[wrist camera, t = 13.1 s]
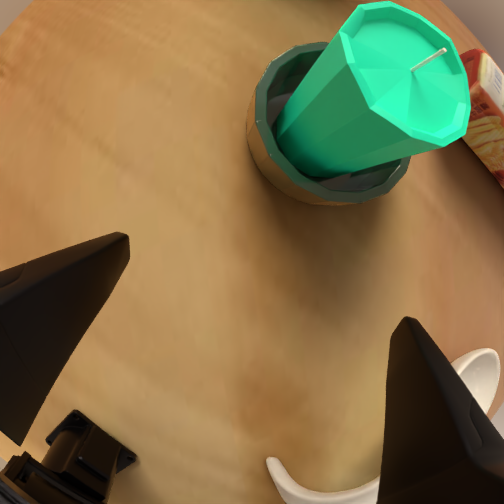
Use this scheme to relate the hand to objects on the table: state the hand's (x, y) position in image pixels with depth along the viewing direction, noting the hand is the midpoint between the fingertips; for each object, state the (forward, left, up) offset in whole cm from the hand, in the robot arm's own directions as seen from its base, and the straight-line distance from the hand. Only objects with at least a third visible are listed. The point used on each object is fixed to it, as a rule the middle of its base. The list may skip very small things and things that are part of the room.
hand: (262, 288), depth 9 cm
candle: (+9, +2, -10) cm, 13 cm away
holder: (+9, +2, -10) cm, 14 cm away
